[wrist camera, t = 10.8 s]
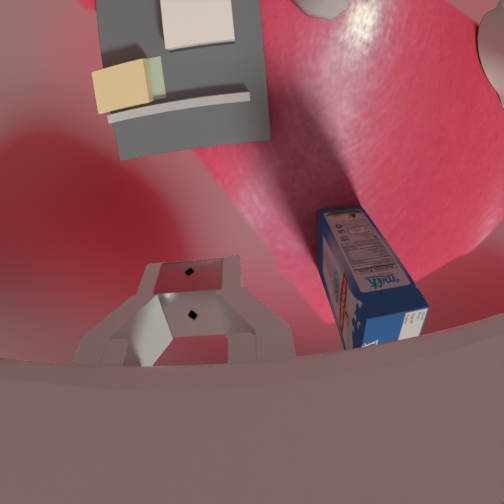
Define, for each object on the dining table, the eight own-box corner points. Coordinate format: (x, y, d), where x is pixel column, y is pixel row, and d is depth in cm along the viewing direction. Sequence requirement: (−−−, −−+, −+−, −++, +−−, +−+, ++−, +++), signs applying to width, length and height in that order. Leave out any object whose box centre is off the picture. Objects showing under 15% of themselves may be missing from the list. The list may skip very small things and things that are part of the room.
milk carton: (317, 209, 42) (367, 319, 25) (361, 205, 42) (429, 305, 25) (317, 269, 47) (353, 382, 31) (357, 264, 47) (406, 370, 31)
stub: (147, 58, 28) (142, 58, 27) (153, 100, 31) (149, 102, 30) (98, 71, 29) (91, 72, 27) (105, 111, 31) (98, 114, 30)
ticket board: (254, -37, 24) (256, -46, 21) (269, 138, 36) (273, 145, 33) (99, -7, 24) (86, -12, 21) (123, 157, 36) (114, 166, 33)
